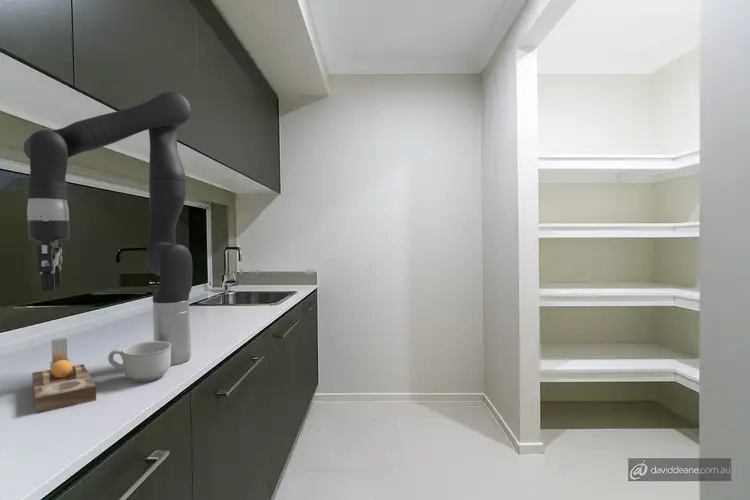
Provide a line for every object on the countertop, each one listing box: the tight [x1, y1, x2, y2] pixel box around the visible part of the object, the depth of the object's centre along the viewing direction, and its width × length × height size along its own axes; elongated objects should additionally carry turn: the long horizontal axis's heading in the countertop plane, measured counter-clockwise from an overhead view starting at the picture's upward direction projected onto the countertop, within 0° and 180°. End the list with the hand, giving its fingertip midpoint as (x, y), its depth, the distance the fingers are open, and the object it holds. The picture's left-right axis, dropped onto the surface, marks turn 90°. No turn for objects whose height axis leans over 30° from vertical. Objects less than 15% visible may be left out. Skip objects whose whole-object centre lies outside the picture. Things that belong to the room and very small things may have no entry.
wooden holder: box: [31, 363, 97, 414], centre depth 93 cm, size 21×10×5 cm, turn 41°
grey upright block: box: [49, 337, 71, 376], centre depth 97 cm, size 4×4×8 cm
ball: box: [51, 360, 73, 378], centre depth 94 cm, size 4×4×4 cm
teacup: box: [107, 340, 171, 383], centre depth 102 cm, size 14×11×8 cm
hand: (51, 288), depth 95 cm, fingers open, 8 cm apart
